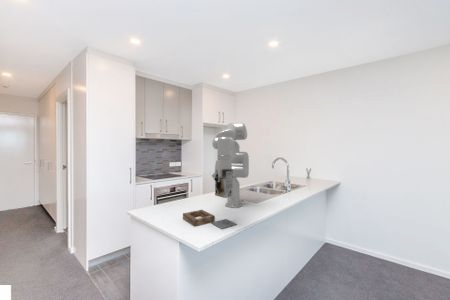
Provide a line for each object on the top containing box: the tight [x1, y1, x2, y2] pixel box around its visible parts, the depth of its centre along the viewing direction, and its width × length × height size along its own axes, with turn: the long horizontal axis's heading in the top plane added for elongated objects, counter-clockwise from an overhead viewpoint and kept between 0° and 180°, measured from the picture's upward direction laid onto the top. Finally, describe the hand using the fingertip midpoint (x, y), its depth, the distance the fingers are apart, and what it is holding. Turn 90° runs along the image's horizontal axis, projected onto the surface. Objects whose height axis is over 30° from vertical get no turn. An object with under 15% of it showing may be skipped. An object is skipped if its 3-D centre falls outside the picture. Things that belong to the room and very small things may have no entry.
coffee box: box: [214, 169, 233, 199], centre depth 124 cm, size 9×6×16 cm
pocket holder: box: [182, 209, 216, 227], centre depth 131 cm, size 14×16×4 cm
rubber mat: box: [211, 218, 238, 230], centre depth 124 cm, size 11×11×1 cm
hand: (223, 187), depth 124 cm, fingers closed on coffee box, 7 cm apart
